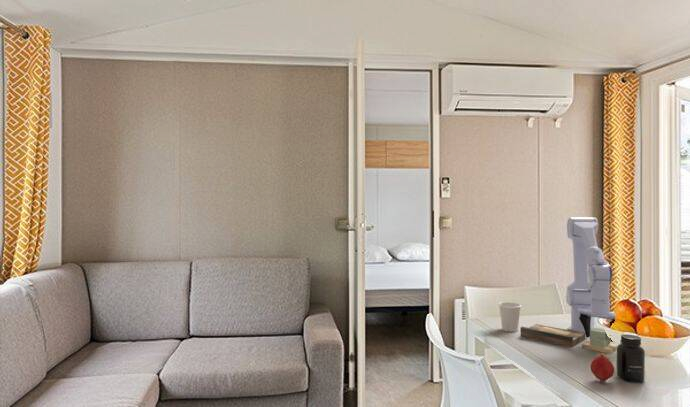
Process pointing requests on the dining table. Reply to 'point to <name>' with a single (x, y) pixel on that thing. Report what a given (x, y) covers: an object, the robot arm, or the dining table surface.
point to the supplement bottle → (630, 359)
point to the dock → (552, 335)
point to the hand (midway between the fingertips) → (600, 338)
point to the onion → (602, 368)
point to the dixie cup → (510, 316)
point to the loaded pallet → (607, 349)
